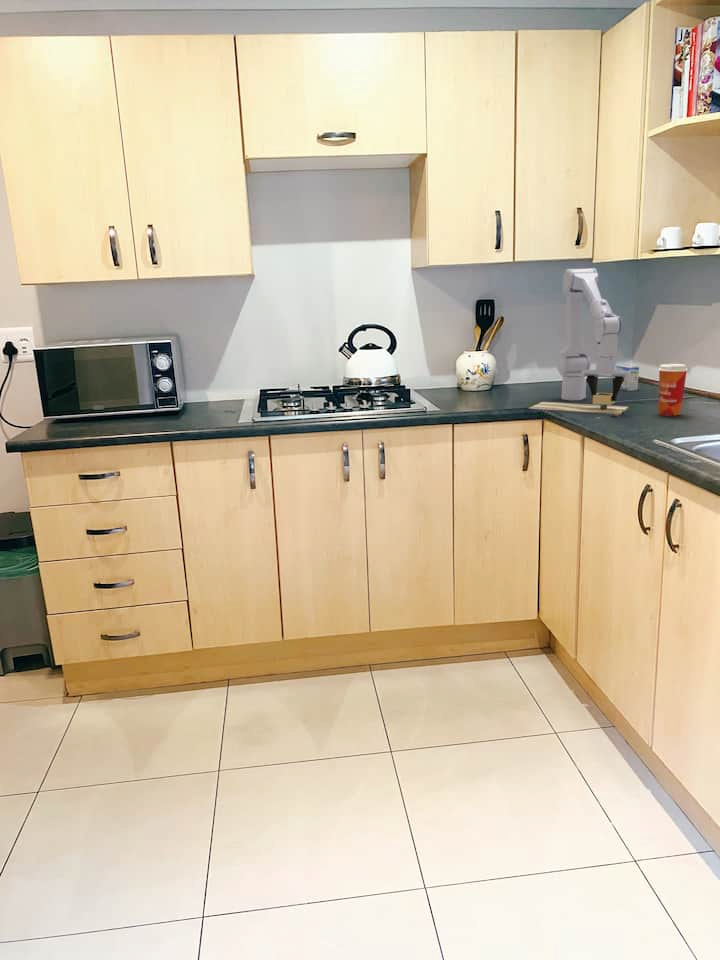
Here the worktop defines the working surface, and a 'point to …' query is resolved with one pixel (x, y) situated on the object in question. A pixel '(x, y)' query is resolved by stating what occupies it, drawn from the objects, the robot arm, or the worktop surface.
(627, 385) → the medicine box
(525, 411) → the worktop surface
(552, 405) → the keeper board
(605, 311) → the robot arm
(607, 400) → the brass link
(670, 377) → the coffee cup
